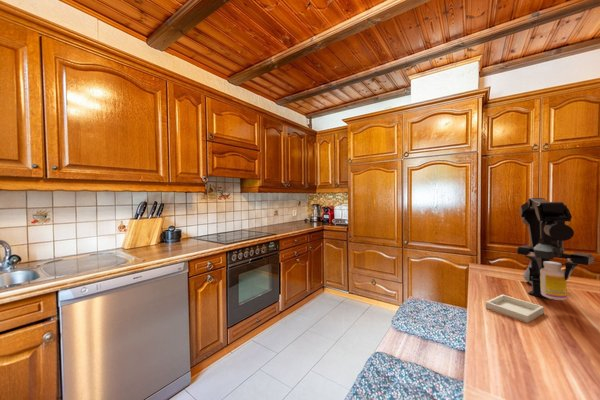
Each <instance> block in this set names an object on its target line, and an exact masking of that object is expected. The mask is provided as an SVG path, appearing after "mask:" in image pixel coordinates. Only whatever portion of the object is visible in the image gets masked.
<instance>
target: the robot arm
mask: <svg viewBox="0 0 600 400" xmlns="http://www.w3.org/2000/svg"><path fill="white" fill-rule="evenodd" d="M519 216H520V218H521V221H522V223H523V224H524V225H526V227H527V228H528V235H529V243H530V245H527V244H526V245H525V244H524V245H521V246H517V248H516V254H517V255H522V256H524V257H525V258H527V259H529V260H530V261H529V263H528V266H529V267H528V266H527V268H526V269H527V271H526V270H525V271H526V278H527V279H528V280H529V281H532V284H531V290H530V291H529V292H528V295H532V296H535V297H539V298H542V299H545V300H550V298H547V297H545V296H543V295H542V294H541V287H540V269H541V268H544V265H543V262H544V261H551V260H553V259H555V258H559V259H560V258H561V259H566V260H567V261H565V262H564V266H565V269H564V272H565V280H566V281H567V280H569V278H570V276H571V274H572V273H573V272H574V269H576V267H577V266H580V265H584V266H589V265H591V264H593V263H595V258H594V256H593V254H591V253H585V252H576V251H575V252H574V253H565V248H564V242H565V241H568V240H571V239H572V238H573V237H574V234H575V231H574V229H573V228H572V227H571V226H570V225H567V224H566V222H572V217H573V216H572V214H571V210H569V207H568V205H566V204H565V203H564V202H563V201H549V200H547V199H545V198H542V197H531V198H528V199H527V200H526V202H525V203H523V204H522V205H521V206H520V208H519ZM531 276H532V277H531Z"/></svg>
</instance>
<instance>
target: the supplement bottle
mask: <svg viewBox="0 0 600 400" xmlns="http://www.w3.org/2000/svg"><path fill="white" fill-rule="evenodd" d="M543 265H544V268H541V269H540V287H541V294H542V295H543V296H545V297H547V298H550V299H551V300H556V301H565V300H567V298H568V293H567V280H565V270H562V268H563V265H562V263H561V262H557V261H552V260H550V261H544V262H543ZM550 299H549V300H550Z"/></svg>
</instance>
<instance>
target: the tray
mask: <svg viewBox="0 0 600 400" xmlns="http://www.w3.org/2000/svg"><path fill="white" fill-rule="evenodd" d="M485 309H488V310H490V311H492V312H495V311H496V313H498V314H501V315H504V316H506V317H509V318H511V319H512V318H513V319H515V320H517V321H519V322H520V321H521V322H524V323H526V324H529V323H530V322H532V321H534V320H536V319H537V318H539V317H541V316H543V315H544V314H545V307H544V306H542V305H539V304H536V303H532V302H529V301H526V300H523V299H519V298H516V297H512V296H511V295H510V296H509V295H505V294H500V295H498V296H496V297H493V298H491V299H489V300H487V301H485Z"/></svg>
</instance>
